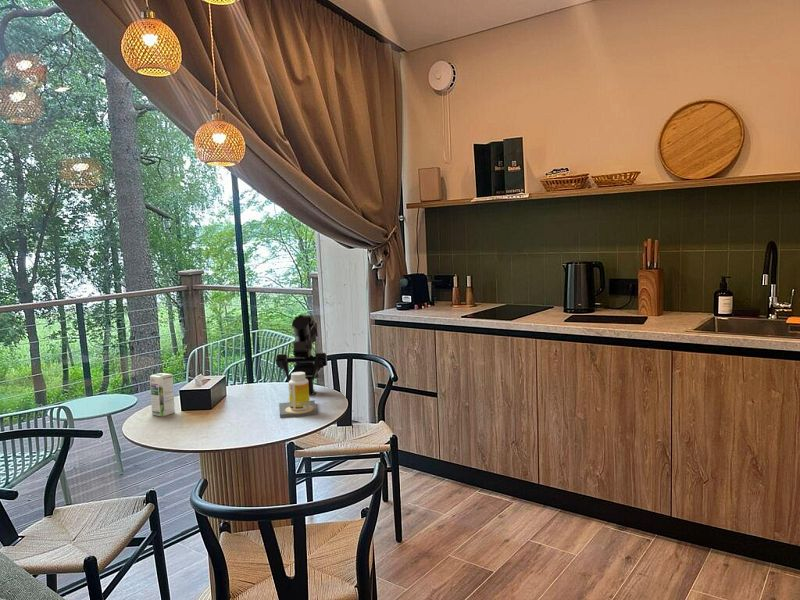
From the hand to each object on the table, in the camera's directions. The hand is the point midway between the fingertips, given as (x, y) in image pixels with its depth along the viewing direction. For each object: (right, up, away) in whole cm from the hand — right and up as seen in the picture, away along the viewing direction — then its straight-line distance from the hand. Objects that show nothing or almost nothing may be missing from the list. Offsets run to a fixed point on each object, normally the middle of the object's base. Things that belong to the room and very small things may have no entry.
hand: (300, 379), depth 215 cm
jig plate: (0, -11, -4) cm, 11 cm away
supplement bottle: (+1, -10, -7) cm, 12 cm away
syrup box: (-49, -12, -4) cm, 51 cm away
